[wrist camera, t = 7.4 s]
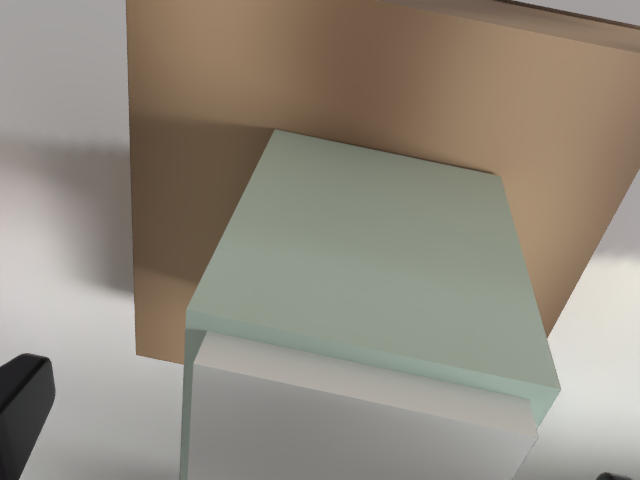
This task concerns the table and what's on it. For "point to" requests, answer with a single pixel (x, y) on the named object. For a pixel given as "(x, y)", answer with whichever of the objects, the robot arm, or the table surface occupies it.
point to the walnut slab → (373, 121)
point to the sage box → (364, 326)
